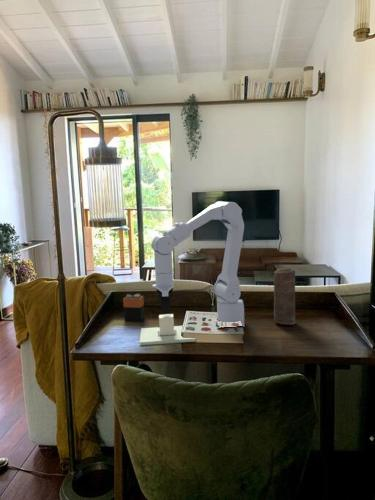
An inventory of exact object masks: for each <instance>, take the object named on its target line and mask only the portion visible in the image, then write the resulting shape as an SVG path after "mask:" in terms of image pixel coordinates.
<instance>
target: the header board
mask: <svg viewBox="0 0 375 500" xmlns="http://www.w3.org/2000/svg"><path fill="white" fill-rule="evenodd" d="M182 326H183V325H174V334H173V335H160V327H158V326H156V327H141V328H140V336H139V337H140V338H139V346H147V345H162V344H163V345H164V344H178V343H191V342H196V337H195V338H183V337H182V336H181V330H182Z"/></svg>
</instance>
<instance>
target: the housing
mask: <svg viewBox="0 0 375 500" xmlns="http://www.w3.org/2000/svg"><path fill="white" fill-rule="evenodd" d="M174 320H175V318H174V313H168V314H159V315H158V324H159V327H160V335H173V334H174V326H175V322H174Z"/></svg>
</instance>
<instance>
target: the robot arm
mask: <svg viewBox="0 0 375 500" xmlns="http://www.w3.org/2000/svg"><path fill="white" fill-rule="evenodd" d="M243 219H244V218H243V209H242V208H241V207H240V206H239V205H238V203H237V202H234V201H223V200H218V201H216V202H214V203H213V204H210V205H209V206H207V208H205V209H204V210H202V211H201V212H200V213H198V214H197V215H195V216H193V218H191V219H190V220H189V221H187V222H183V221H182V222H181V221H180V222H176V223H174V226H172V227H171V228H170V229H167V231H166V230H164V231H163V232H162V234H158V235H156V236H154V238H153V239H152V242H151V244H150V245H151V248H152V250H153V252H154V253H153V254H154V255H153V256H154V273H155V274H154V275H155V283H154V284H152V288H153V289H156V298H157V299H158V300H159V303H160V306H161V312H162V315H165V314H170V311H171V306H172V305H171V303H172V300H173V297H174V296H175V293H174V292H173V290H174V287H175V285H174V275H173V274H174V273H173V256H172V252H173V251H174V249H175V247H177V246H179V245H180V244H181V243H183V242H185V241H186V240H188V239H189V238H191V236H192V232H193V231H194V230H197V229H198V228H199V227H202V226H203V225H205V224H207V223H209V222H210V221H212V220H213V221H215V220H216V221H217V220H218V221H220V222H221V223H223V226H225V227H226V228H227V234H226V235H227V236H226V241H225V249H224V254H223V262H222V266H221V267H222V268H221V273H220V274H218V275H217V279H216V282H215V283H214V285H213V293H214V294H215V295H216V308H217V309H216V310H217V311H216V312H217V314H216V315H217V316H216V317H217V318H218V320H220V321H222V322H236V321H237V322H238V321H241V323H242V325H243V327H245V326H246V325H245V305H244V300H243V299H240V297H241V288H240V283H241V282H240V279H239V278H238V268H239V262H240V256H241V250H242V244H243V239H244V238H243V237H244V232H245V231H244V230H245V222H244V220H243ZM217 318H216V319H217ZM243 327H242V328H243Z"/></svg>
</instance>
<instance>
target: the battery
mask: <svg viewBox="0 0 375 500" xmlns="http://www.w3.org/2000/svg"><path fill="white" fill-rule="evenodd" d="M144 302H145V300H144V295H141V294H140V293H136V294H134V295H133V294H132V295H131V294H129V293H128V294H126V296H125V297H123V299H122V303H123V315H124V316H123V317H124V321H125V322H138V323H139V322H142V321H143V320H144V319H145V317H146V315H145V303H144Z"/></svg>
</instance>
